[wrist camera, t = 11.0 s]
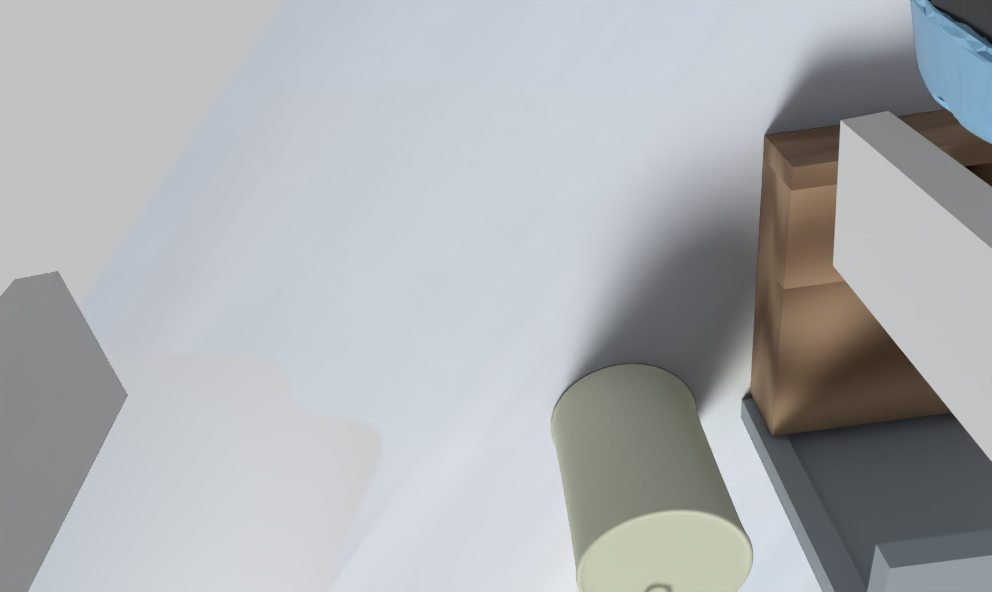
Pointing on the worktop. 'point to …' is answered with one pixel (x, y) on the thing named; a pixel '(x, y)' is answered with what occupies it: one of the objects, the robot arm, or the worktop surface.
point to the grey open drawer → (885, 502)
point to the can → (645, 487)
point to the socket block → (830, 293)
